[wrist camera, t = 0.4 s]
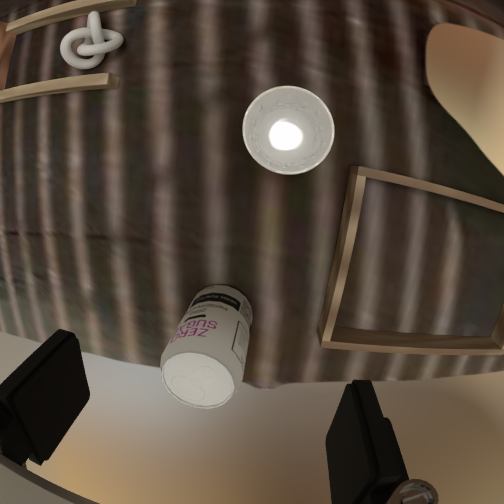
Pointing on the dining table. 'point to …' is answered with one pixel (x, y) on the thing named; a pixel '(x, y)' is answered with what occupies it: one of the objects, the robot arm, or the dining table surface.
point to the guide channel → (4, 34)
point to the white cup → (288, 130)
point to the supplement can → (208, 348)
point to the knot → (90, 43)
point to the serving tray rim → (340, 337)
